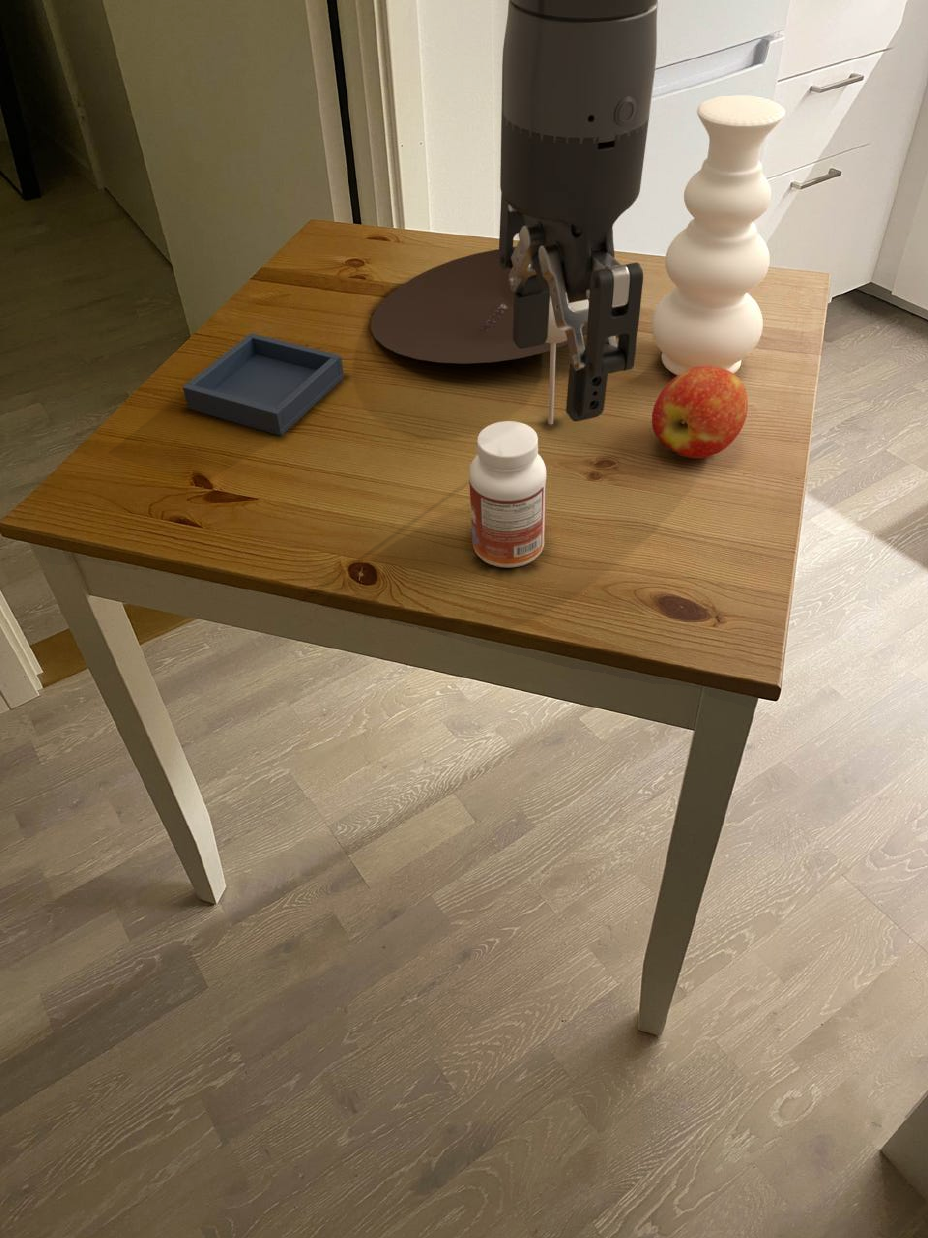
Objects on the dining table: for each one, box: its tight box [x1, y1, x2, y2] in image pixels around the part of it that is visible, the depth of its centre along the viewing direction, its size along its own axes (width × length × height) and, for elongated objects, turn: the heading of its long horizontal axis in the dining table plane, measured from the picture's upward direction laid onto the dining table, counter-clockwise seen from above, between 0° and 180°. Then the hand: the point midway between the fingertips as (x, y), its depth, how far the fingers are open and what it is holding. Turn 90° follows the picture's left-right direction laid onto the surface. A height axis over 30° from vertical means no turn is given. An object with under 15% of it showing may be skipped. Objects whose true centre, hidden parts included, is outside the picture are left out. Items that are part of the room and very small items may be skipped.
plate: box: [370, 248, 589, 365], centre depth 105 cm, size 28×28×4 cm
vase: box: [651, 94, 786, 376], centre depth 89 cm, size 11×11×25 cm
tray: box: [182, 332, 345, 437], centre depth 97 cm, size 12×12×3 cm
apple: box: [651, 366, 749, 459], centre depth 86 cm, size 8×8×8 cm
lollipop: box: [546, 297, 589, 425], centre depth 87 cm, size 6×6×15 cm
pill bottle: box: [468, 420, 548, 568], centre depth 76 cm, size 6×6×11 cm
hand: (556, 378), depth 60 cm, fingers open, 8 cm apart
